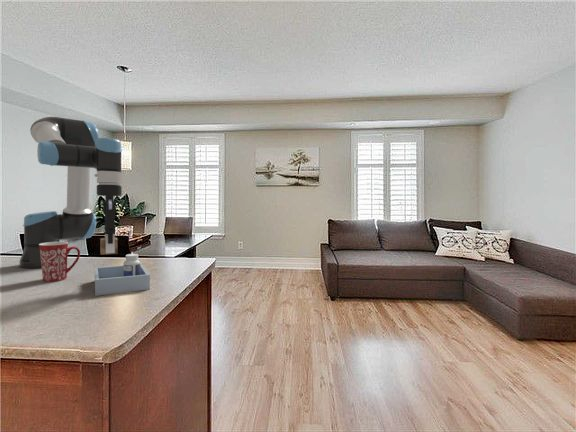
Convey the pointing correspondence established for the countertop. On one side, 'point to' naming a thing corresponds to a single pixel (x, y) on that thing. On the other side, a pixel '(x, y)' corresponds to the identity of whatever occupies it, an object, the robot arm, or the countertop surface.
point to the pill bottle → (131, 265)
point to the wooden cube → (103, 246)
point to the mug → (55, 260)
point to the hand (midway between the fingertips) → (109, 251)
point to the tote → (119, 280)
